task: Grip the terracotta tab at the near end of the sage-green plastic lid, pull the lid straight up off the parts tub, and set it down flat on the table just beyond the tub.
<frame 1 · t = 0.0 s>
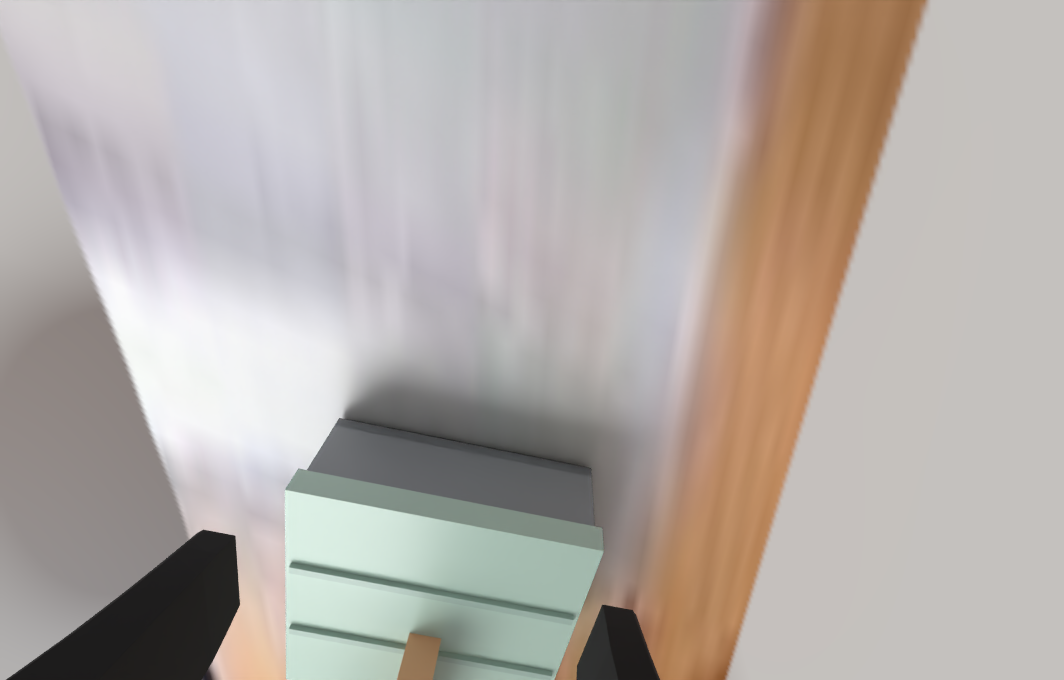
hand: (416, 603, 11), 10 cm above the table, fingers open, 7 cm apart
lid: (438, 580, 22), point 2 cm above the table, touching tub
tub: (449, 533, 24), on the table
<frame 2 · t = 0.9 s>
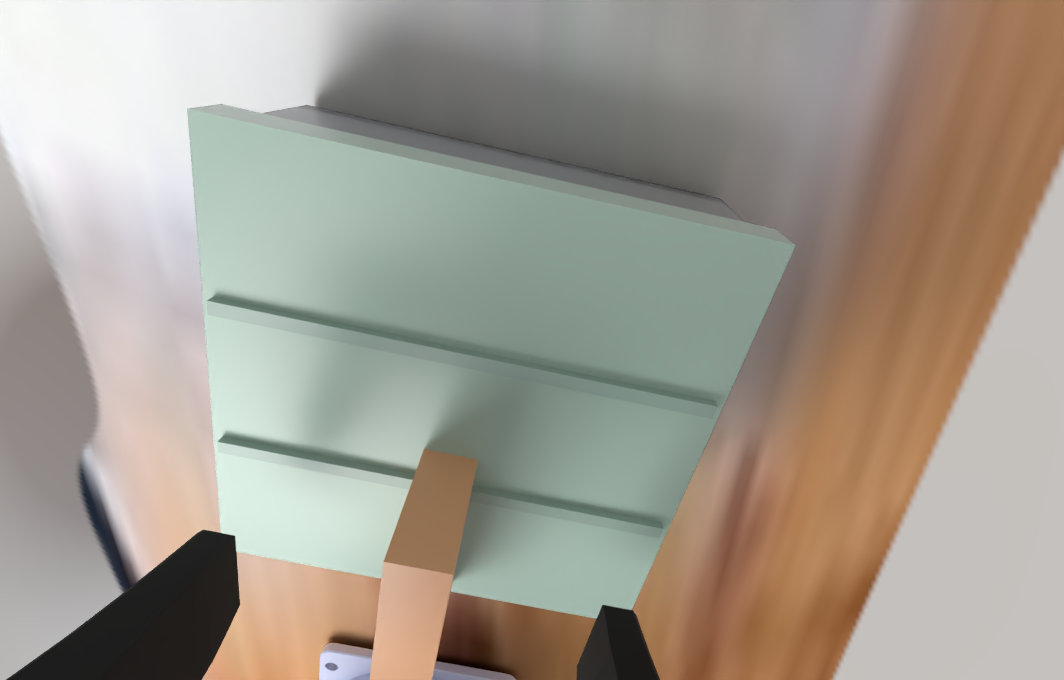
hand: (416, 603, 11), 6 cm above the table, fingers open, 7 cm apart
lid: (469, 380, 13), point 2 cm above the table, touching tub
tub: (482, 335, 15), on the table
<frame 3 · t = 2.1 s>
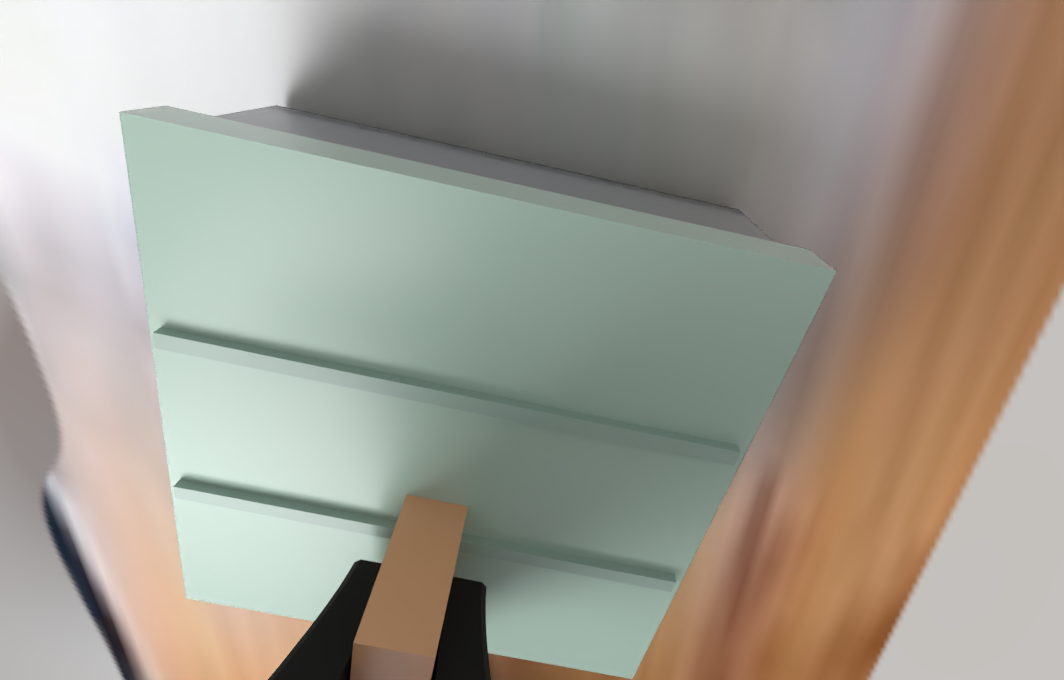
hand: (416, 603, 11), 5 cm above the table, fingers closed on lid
lid: (459, 413, 12), point 2 cm above the table, touching gripper, tub
tub: (475, 358, 14), on the table
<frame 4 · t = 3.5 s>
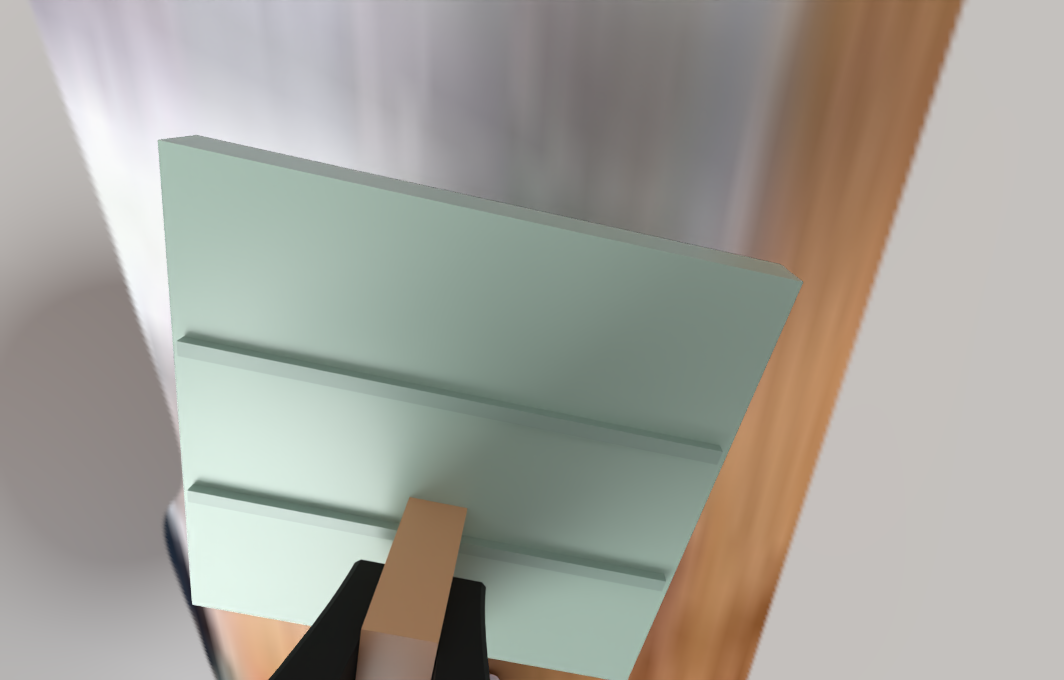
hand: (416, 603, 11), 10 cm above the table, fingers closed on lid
lid: (458, 421, 12), point 7 cm above the table, touching gripper
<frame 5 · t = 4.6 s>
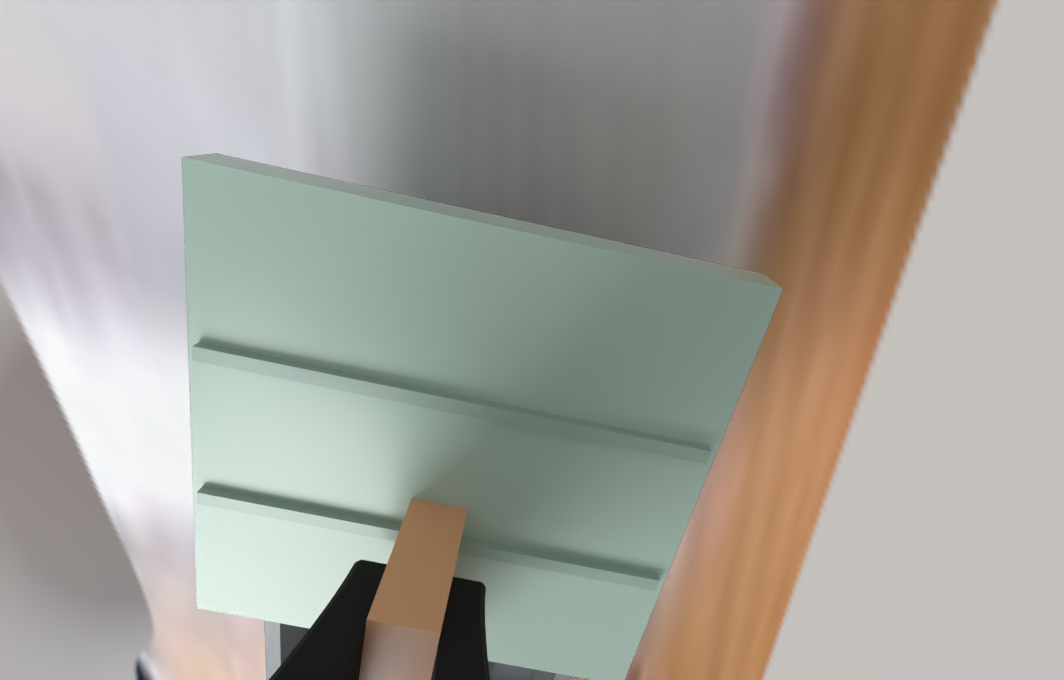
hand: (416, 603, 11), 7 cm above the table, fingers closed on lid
lid: (459, 426, 13), point 4 cm above the table, tilted 5°, touching gripper
tub: (433, 601, 21), on the table
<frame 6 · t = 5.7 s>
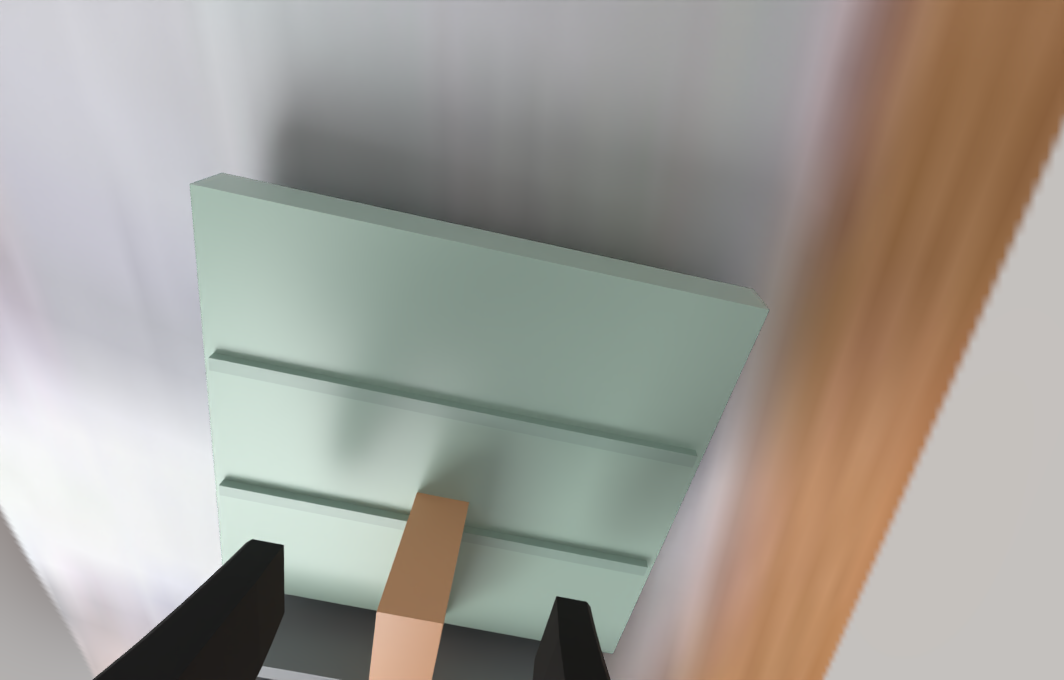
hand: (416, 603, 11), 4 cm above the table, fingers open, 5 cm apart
lid: (461, 422, 14), on the table
tub: (415, 677, 19), on the table
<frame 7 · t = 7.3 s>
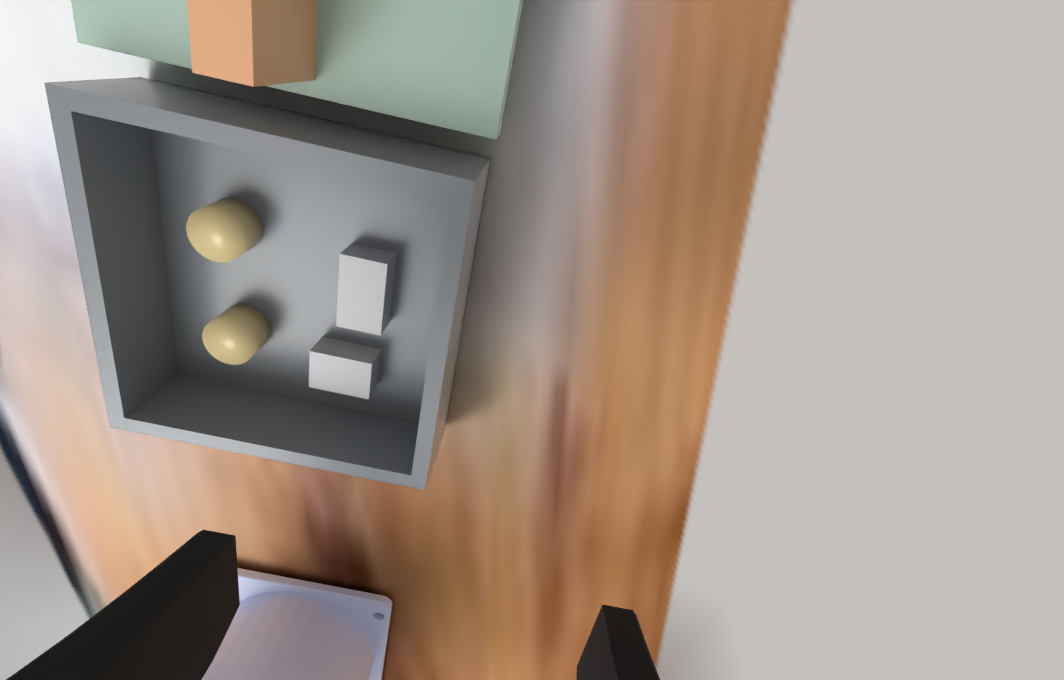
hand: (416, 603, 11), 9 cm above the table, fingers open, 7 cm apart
tub: (314, 278, 18), on the table
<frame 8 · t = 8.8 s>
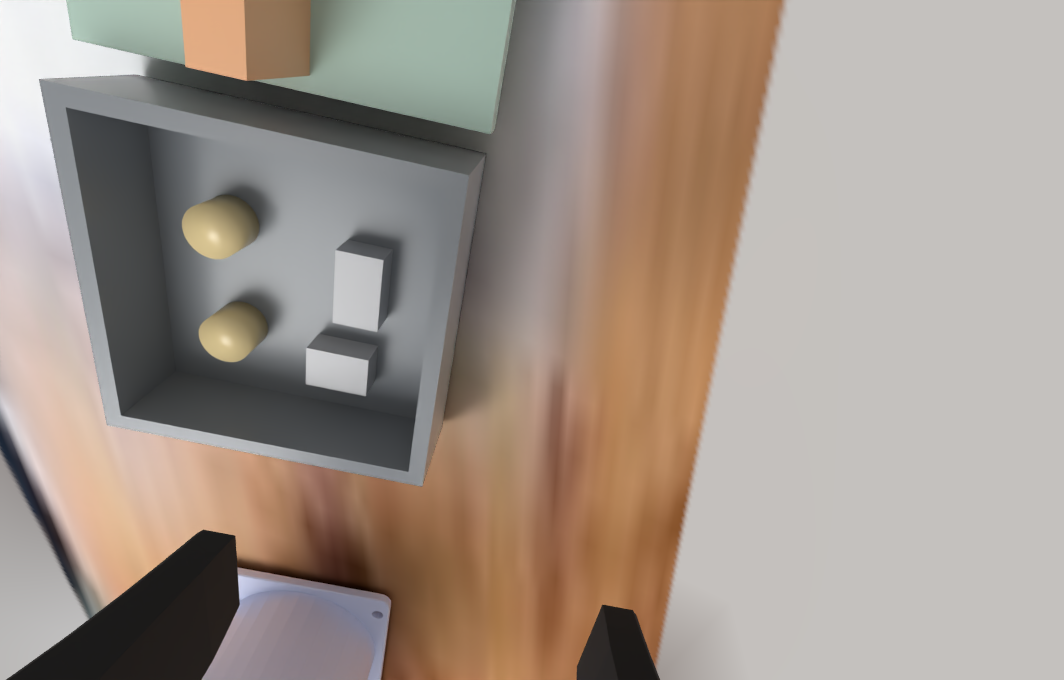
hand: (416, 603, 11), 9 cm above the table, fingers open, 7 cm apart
tub: (310, 275, 18), on the table
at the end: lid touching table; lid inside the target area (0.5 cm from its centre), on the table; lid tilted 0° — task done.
